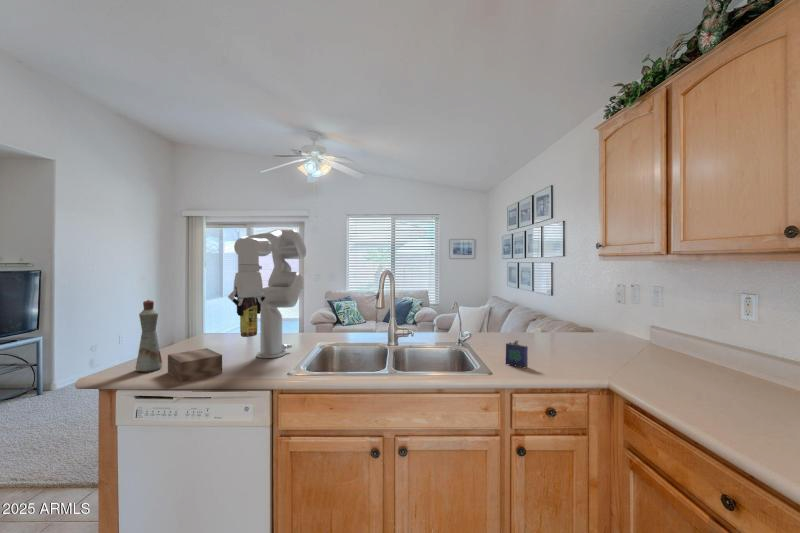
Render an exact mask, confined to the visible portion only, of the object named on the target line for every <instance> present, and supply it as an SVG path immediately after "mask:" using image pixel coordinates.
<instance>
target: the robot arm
mask: <svg viewBox="0 0 800 533" xmlns="http://www.w3.org/2000/svg"><path fill="white" fill-rule="evenodd" d="M233 248H234V249H233V250H234V252H235V254H236V255H237V263H238V264H237V272H235V276H234V281H233V291H231V293H229V294H228V296H227V299H229V300H230V301H231V302H232V303H234V304H235V305H236V315H237V316H239V317H240V316H243V306H242V302H243V299H244V298H251V297H253V298H255V301H256V304H257V315H259V316H260V323H259V324H260V326H259V328H260V330H259V331H260V333H259V334H260V337H259V338H260V347H259V348H260V350H259V352H257V353H256V357H257V358H259V359H275V358H281V357H283V356H285V355H286V349H292V348H293V345H292V343H288V344H286V343H283V315H282V313H281V311H280V310H279V309H280V308H283V309H284V308H286V309H287V308H294V307H295V306H296V305H297V304H298V301H299V297H300V294H301V291H302V288H303V282H304V281H303V280H304V279H303V276H302V274H301V273H300V272H298V271H292V266H291V264H289V262H287V261H286V260H302V259H305V257H306V255H307V247H306V244H305V242H304V240H303V238H302V236H301V234H300V233H299V232H298V230H296V229H274V230H271V231H268V232H264V233H263V232H262V233H258V234H251V235H250V234H249V235H244V236H242V237H239V238H237V239H236V240H235V243H234V247H233ZM270 254H271V257H272V262H273V269H272V271H271V273H270V276H269V278H268V282H267V286H266V287H263V277H262V273H261V272H260V270H262V269H263V267H262V265H260V263H259V262H260V260H259V259H260V257H267V256H269V255H270Z"/></svg>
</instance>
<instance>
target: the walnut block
mask: <svg viewBox="0 0 800 533" xmlns="http://www.w3.org/2000/svg"><path fill="white" fill-rule="evenodd" d="M167 373H168V374H169V373H170V374H171V375H170V374H169V375H170V376H172V375H173V376H174V377H173V376H172V377H173V378H175V379H176V380H178V382H180V383H184V382H187V381H192V380H197V379H202V378H207V377H211V376H215V375H220V374H222V373H223V354H221V353H218V352H216V351H213V350H212V349H209V348H208V347H207V348H206V347H205V348H200V349H194V350H189V351H188V350H187V351H181V352H176V353H171V354H170V353H169V354H167Z"/></svg>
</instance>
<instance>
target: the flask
mask: <svg viewBox="0 0 800 533" xmlns="http://www.w3.org/2000/svg"><path fill="white" fill-rule="evenodd" d="M513 341H514V342H511V341H510V342H506V343H505V365H506V364H510V365H516V366H521V367H527V368H528V364H529V363H528V360H529V359H528V355H529V354H528V350H529V347H528V345H525V344H519V342H520V341H519V340H516V339H515V340H513ZM510 365H509V366H510ZM516 366H515V367H516ZM521 367H520V368H521Z"/></svg>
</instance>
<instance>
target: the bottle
mask: <svg viewBox="0 0 800 533" xmlns="http://www.w3.org/2000/svg"><path fill="white" fill-rule="evenodd" d="M142 305H143V310H142V311H141V312H140V313H139V314H138V316H139V322H140V327H141V328H140V329H141V336H140V342H139V347H138V354H137V358H136V363H135V364H136V365H135V371H136V372H143V373H144V372H145V373H146V372H147V373H148V372H149V373H150V372H153V371H159V370H160V369H162V367H163V360H162V354H161V350H160V344H159V338H158V335H157V334H158V333H157V325H158V319H159V318H158V316H159V312H158V311H157V310H155V308H154V307H155V306H154V305H155V302H154V300H150V299H147V300H144V301H143V302H142Z"/></svg>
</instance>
